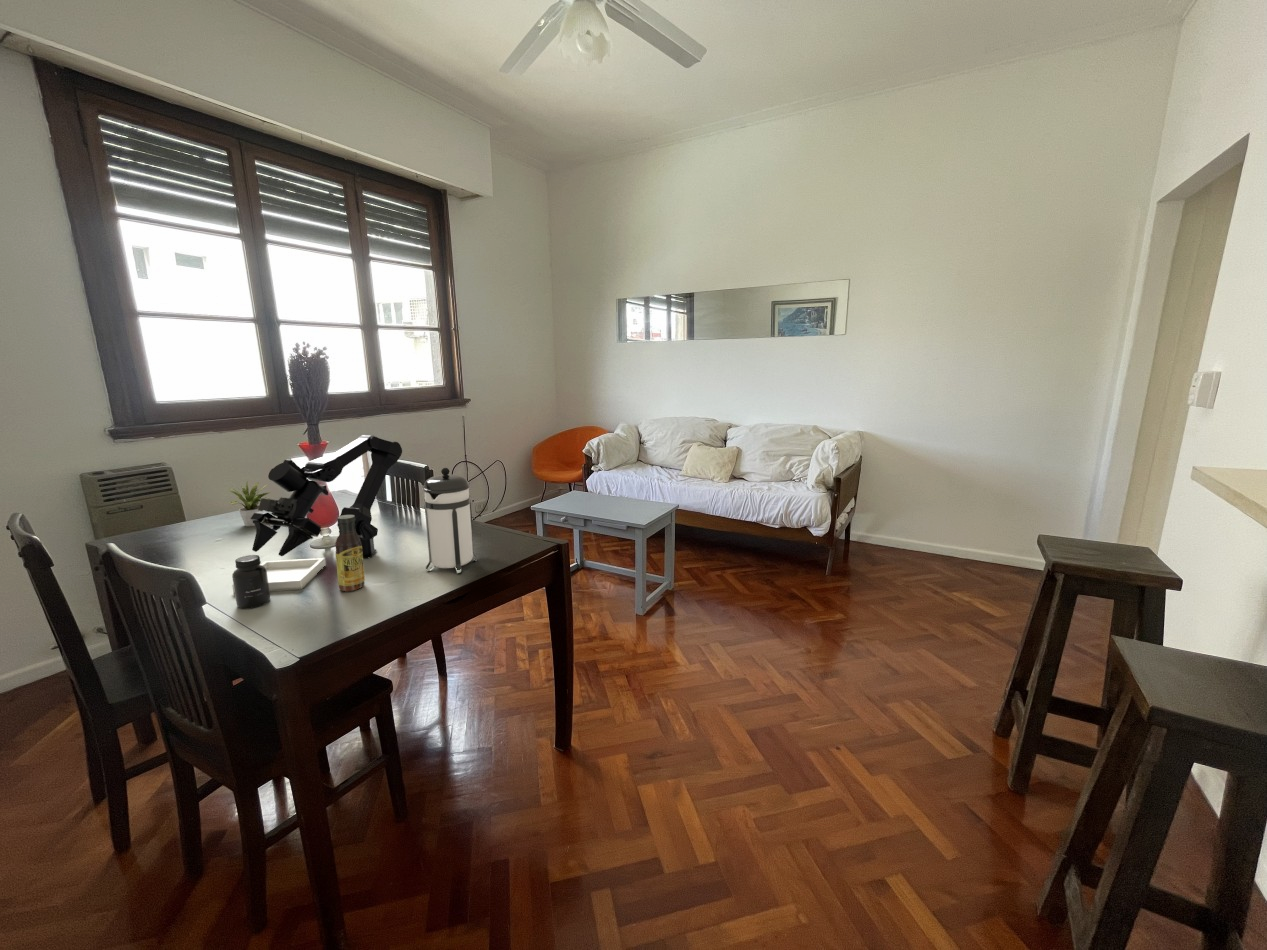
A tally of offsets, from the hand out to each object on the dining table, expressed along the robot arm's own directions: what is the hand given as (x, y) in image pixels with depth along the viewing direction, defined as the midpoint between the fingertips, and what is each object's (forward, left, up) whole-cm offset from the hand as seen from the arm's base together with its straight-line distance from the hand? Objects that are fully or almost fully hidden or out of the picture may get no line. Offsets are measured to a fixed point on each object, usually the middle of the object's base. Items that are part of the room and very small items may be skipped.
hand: (267, 553), depth 128 cm
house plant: (+36, -63, -12) cm, 74 cm away
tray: (+2, -10, -11) cm, 15 cm away
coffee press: (-43, -13, -12) cm, 46 cm away
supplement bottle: (+2, +4, -12) cm, 13 cm away
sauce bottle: (-19, -1, -12) cm, 22 cm away
